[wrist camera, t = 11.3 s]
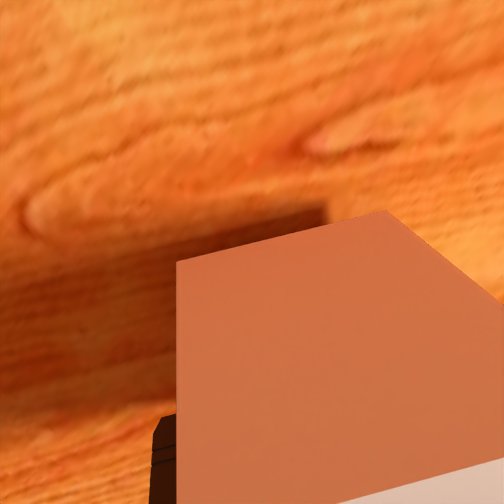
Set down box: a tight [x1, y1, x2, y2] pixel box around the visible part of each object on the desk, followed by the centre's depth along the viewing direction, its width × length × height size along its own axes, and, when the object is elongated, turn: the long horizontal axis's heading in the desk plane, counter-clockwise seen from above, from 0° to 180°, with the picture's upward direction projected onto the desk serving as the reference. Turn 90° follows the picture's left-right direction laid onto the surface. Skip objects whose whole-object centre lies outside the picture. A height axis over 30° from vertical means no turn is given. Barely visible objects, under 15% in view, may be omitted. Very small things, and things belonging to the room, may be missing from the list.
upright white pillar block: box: [176, 210, 504, 504], centre depth 12 cm, size 7×7×9 cm
